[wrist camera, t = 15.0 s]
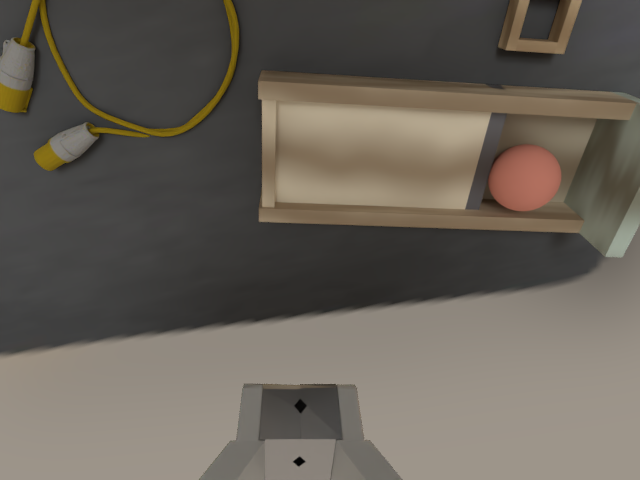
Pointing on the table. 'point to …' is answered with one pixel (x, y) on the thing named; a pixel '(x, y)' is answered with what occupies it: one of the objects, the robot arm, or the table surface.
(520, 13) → the hollow square frame
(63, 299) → the table surface
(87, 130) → the extension cord
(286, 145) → the tray
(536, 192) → the ball
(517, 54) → the table surface
